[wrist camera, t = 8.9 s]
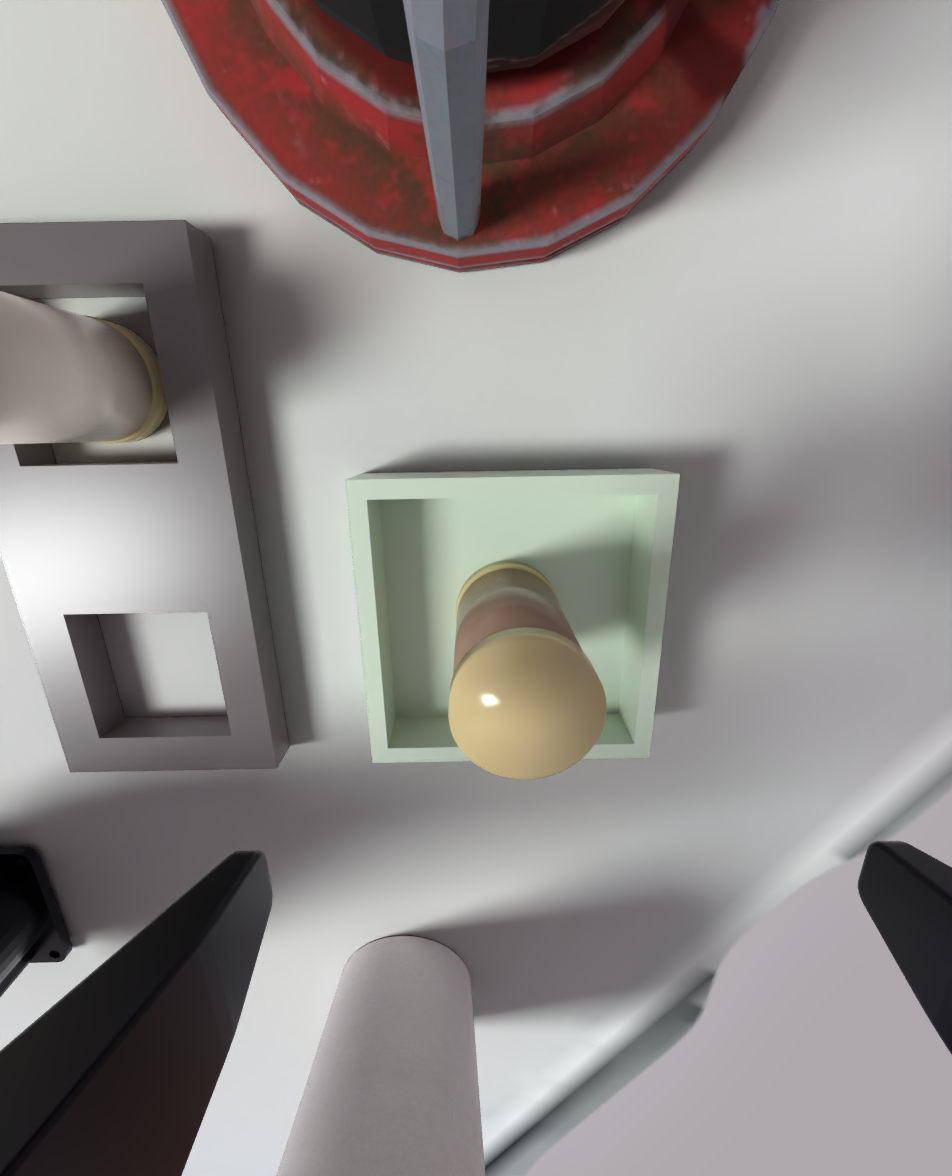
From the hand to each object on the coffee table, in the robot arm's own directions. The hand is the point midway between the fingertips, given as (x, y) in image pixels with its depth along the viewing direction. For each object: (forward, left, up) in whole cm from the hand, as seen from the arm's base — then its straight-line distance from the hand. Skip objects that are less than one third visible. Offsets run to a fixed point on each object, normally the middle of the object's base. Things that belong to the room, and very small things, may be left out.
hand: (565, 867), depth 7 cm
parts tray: (0, 0, -12) cm, 12 cm away
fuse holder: (+3, +13, -12) cm, 18 cm away
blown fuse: (0, 0, -11) cm, 11 cm away
